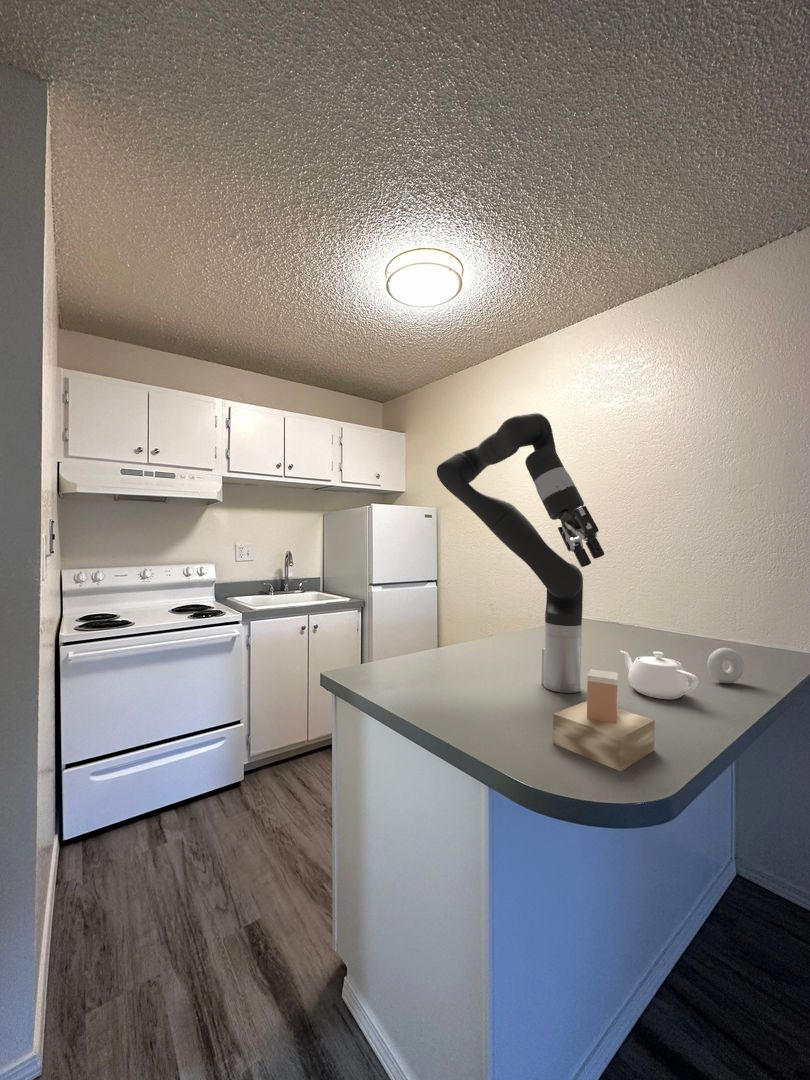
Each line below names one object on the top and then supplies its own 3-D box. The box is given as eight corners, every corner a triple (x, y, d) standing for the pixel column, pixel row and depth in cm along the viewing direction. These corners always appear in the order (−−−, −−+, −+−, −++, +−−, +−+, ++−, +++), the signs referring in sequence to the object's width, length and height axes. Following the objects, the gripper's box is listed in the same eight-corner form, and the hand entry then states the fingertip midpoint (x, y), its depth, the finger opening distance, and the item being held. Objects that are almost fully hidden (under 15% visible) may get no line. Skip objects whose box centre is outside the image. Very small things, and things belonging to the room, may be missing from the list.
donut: (738, 681, 129) (738, 646, 129) (747, 685, 126) (748, 649, 126) (703, 681, 129) (704, 646, 129) (712, 684, 125) (713, 649, 125)
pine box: (552, 745, 86) (553, 713, 86) (588, 728, 94) (588, 700, 94) (620, 773, 76) (621, 737, 76) (654, 752, 84) (654, 720, 84)
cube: (586, 718, 84) (587, 675, 84) (588, 709, 89) (589, 669, 89) (616, 723, 82) (617, 679, 82) (616, 714, 86) (617, 672, 86)
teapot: (715, 703, 110) (715, 659, 110) (677, 711, 105) (678, 664, 105) (636, 678, 130) (637, 640, 130) (601, 683, 125) (602, 644, 125)
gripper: (535, 510, 104) (567, 574, 100) (549, 487, 91) (586, 560, 86) (566, 498, 104) (598, 562, 100) (583, 474, 91) (622, 546, 86)
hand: (592, 561), depth 93 cm, fingers open, 8 cm apart
